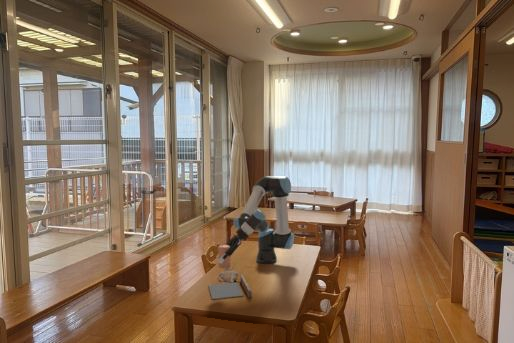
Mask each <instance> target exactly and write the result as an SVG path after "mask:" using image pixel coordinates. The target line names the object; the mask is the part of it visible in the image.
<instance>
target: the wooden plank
mask: <svg viewBox="0 0 514 343" xmlns="http://www.w3.org/2000/svg"><path fill="white" fill-rule="evenodd" d="M239 277H240V279H239V280H240V282H241V283H240V284H241V285H242V287H243V289H244V291H245V294H246V295H247V296H248V298H249V299H251V298H253V295H252V294H253V292H252V289H251V287H250V285H249V283H248V282H247V280H246V278H245V277H244V275H243V274H239Z"/></svg>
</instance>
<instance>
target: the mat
mask: <svg viewBox="0 0 514 343" xmlns="http://www.w3.org/2000/svg"><path fill="white" fill-rule="evenodd" d="M208 291H209V294H210V297H211V300H212V301H215V300H222V299H223V300H224V299H233V298H242V297H244V294H243V292H242V290H241V288H240V286H239V283H238V282H237V281H236V282H234V283H231V282H227V283H219V284H218V283H217V284H209V285H208Z"/></svg>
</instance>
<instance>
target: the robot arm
mask: <svg viewBox="0 0 514 343" xmlns="http://www.w3.org/2000/svg"><path fill="white" fill-rule="evenodd" d="M251 191H252V192H251V194H250V196H249V198H248V200H247V201H246V204H245V206H244V208H243V210H242V211H241V214H240V215H239V216H235V217H234V218H233V223H232V224H233V227H234V228H235V229H237V230H236V234H234V235H233V236H232V238H230V239H229V241H228V242H226V243H225V245H229V246H230V248H229V249H228V250H227V252H225V253H224V254H223V255H222V256H221V258H220V259H219V260H218V254H217V255H216V256H215V258H216V259H217V263H218V262H219V263H220V264H222V263H223V261H224V260H225V259H226V258H227V257H228V256H229V255H230V257H231V256H232V255H233V254H234V253H235V251H236V250H237V248H239V247H240V246H241V245H242V240H243V241H246V240H247V239H248V238H249V237H250V236H251V235H252V234H253V233H254V232H255V231H258V233H257V234H258V235H257V238H258V239H257V240H258V243H257V244H258V252H257V254H256V257H255V259H256V262H257V263H259V264H267V265H268V264H273V263H276V262H277V254H276V251H275V249H281V250H283V249H284V250H290V249H292V248H293V246H294V242H295V233H293V232H292V229H291V228H290V225H289V212H288V211H289V209H288V196H289V195H290V194H291V192H292V183H291V180H290V179H289V177H288V176H282V175H281V176H280V175H278V176H277V175H274V176H273V175H265V176H264V177H261V178H260V179H258V180H257V181H256V182H255V184H254V185H253V187H252V190H251ZM267 193H271V196H272V197H273V198H274V205H275V220H276V229H274V228H270V224H269V223H268V221H267V220H266V218H267V215H266V214H265V213H263V211H261V209H259V208H258V206H259V204H260V202H261V200H262V198H263V196H265V195H266V194H267ZM219 263H218V264H219Z"/></svg>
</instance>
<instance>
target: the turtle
mask: <svg viewBox="0 0 514 343" xmlns="http://www.w3.org/2000/svg"><path fill="white" fill-rule="evenodd" d="M232 269H234V268H233V267H232V266H230V267H229V268H225V269H224V271H221V272H220V273H219V275H218V280H219V281H220V282H227V283H235V282H234V281H236V280H238V279H239V275H240V274H241V273H242V271H241V270H239V271H234V270H232Z"/></svg>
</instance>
